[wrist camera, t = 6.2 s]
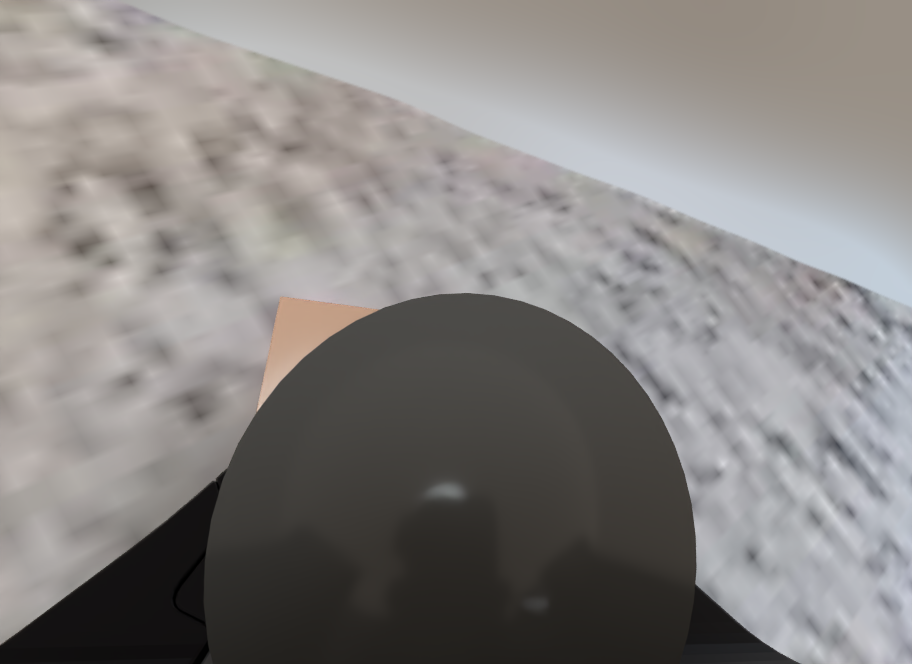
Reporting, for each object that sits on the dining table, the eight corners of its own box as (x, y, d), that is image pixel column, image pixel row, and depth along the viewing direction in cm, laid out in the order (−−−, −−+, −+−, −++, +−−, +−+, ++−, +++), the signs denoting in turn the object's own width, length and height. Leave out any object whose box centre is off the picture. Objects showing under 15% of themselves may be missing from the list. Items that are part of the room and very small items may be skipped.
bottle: (485, 398, 16) (832, 317, 4) (438, 545, 14) (797, 1239, 2) (354, 348, 16) (273, 60, 3) (288, 495, 14) (-419, 1071, 2)
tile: (506, 580, 17) (511, 586, 17) (226, 578, 15) (220, 584, 15) (516, 331, 20) (520, 328, 20) (283, 300, 18) (280, 296, 18)
